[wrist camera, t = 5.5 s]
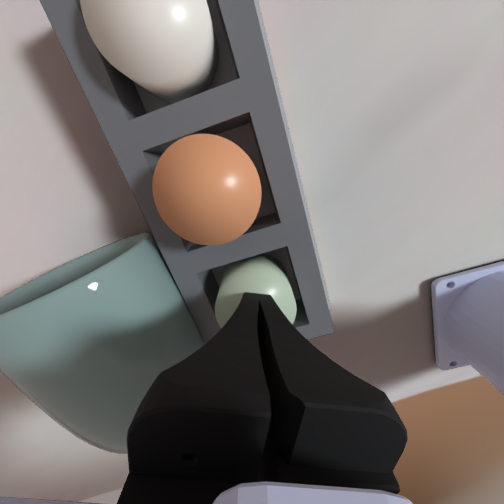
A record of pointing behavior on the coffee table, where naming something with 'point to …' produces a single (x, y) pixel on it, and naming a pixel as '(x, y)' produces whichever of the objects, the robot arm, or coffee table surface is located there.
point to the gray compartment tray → (216, 123)
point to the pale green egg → (254, 286)
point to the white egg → (156, 43)
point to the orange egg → (206, 189)
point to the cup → (97, 338)
